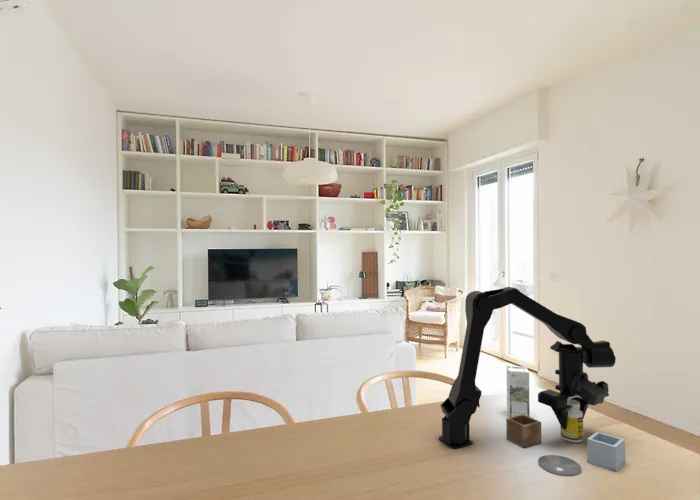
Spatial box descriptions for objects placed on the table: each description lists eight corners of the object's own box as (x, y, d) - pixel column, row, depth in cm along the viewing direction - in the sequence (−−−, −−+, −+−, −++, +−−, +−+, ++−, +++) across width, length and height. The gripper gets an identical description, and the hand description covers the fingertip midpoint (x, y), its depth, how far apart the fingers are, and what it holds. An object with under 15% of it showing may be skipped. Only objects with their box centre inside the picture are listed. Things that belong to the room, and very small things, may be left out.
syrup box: (526, 412, 132) (525, 365, 132) (530, 420, 126) (529, 371, 126) (506, 411, 133) (506, 364, 133) (509, 419, 128) (508, 370, 128)
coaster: (563, 479, 94) (563, 478, 94) (529, 461, 102) (529, 460, 102) (590, 470, 98) (590, 468, 98) (555, 453, 106) (555, 451, 106)
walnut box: (524, 448, 109) (524, 426, 109) (506, 439, 114) (506, 418, 114) (541, 443, 112) (541, 422, 112) (523, 434, 117) (522, 414, 117)
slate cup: (616, 471, 97) (615, 447, 97) (587, 462, 101) (587, 438, 101) (625, 462, 101) (624, 439, 101) (597, 453, 105) (597, 431, 105)
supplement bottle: (581, 445, 110) (580, 406, 110) (558, 439, 113) (557, 402, 113) (585, 437, 114) (584, 400, 114) (562, 432, 117) (561, 396, 117)
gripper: (574, 381, 102) (575, 446, 102) (623, 370, 110) (624, 431, 110) (536, 369, 112) (536, 429, 112) (583, 360, 120) (584, 416, 120)
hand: (571, 426), depth 114 cm, fingers closed on supplement bottle, 5 cm apart
